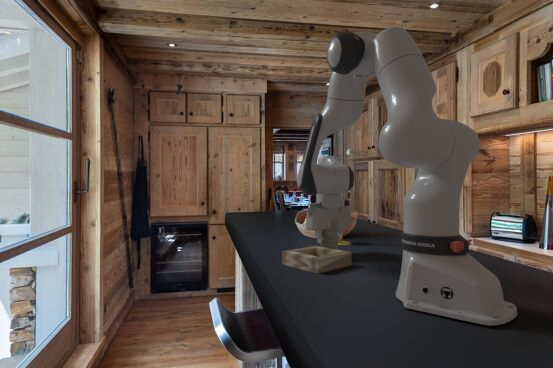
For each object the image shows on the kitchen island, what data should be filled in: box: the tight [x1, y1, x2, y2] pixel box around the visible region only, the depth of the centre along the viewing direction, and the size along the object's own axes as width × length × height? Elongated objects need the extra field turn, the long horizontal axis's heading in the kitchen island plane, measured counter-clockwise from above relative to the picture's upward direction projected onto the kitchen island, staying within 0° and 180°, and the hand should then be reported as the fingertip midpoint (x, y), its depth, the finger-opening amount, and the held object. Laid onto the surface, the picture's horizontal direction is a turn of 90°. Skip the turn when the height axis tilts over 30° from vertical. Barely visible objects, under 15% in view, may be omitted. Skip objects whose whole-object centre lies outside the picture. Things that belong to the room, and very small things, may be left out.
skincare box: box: [319, 220, 339, 250], centre depth 124 cm, size 6×4×12 cm
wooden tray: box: [281, 245, 353, 274], centre depth 108 cm, size 15×15×4 cm
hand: (328, 241), depth 124 cm, fingers closed on skincare box, 7 cm apart
